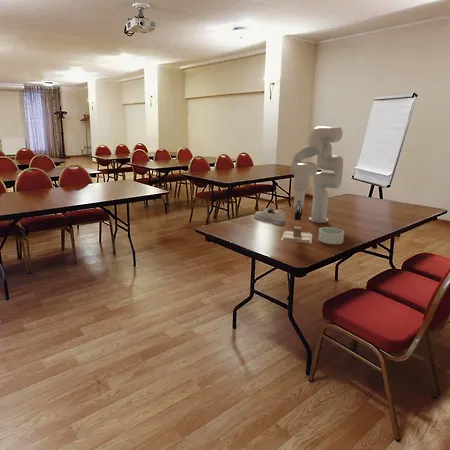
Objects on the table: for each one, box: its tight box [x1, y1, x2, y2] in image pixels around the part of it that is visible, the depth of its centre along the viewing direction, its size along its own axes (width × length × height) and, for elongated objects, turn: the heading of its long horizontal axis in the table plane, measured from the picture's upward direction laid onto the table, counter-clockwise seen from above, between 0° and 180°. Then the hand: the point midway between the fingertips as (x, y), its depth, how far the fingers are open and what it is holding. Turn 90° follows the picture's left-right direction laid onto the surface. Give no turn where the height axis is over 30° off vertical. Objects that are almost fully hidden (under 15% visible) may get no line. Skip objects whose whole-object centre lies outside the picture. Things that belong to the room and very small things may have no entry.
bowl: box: [318, 226, 345, 245], centre depth 200 cm, size 13×13×6 cm
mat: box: [280, 231, 313, 244], centre depth 205 cm, size 16×16×1 cm
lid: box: [282, 225, 311, 243], centre depth 204 cm, size 14×14×6 cm
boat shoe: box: [254, 207, 286, 226], centre depth 239 cm, size 25×9×9 cm, turn 37°
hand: (298, 217), depth 201 cm, fingers open, 9 cm apart
